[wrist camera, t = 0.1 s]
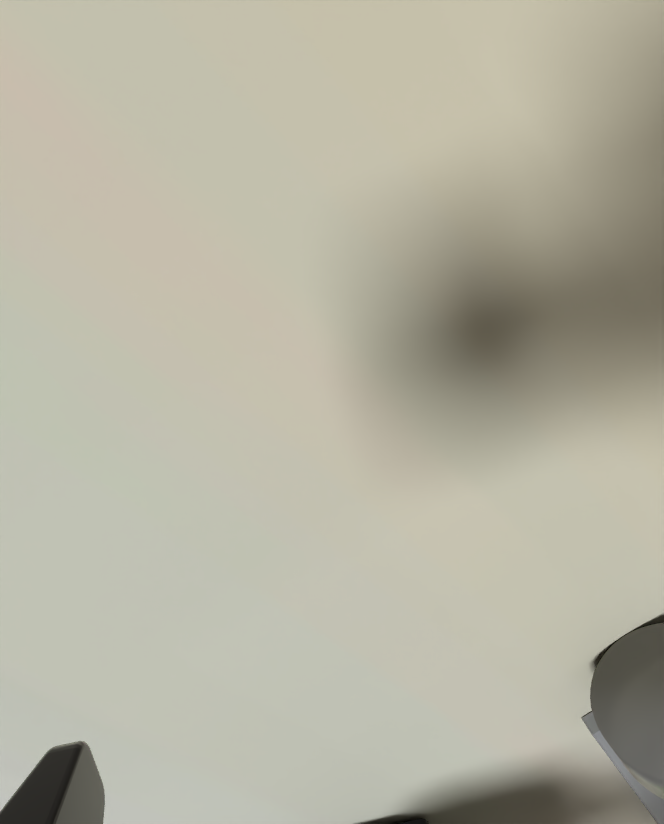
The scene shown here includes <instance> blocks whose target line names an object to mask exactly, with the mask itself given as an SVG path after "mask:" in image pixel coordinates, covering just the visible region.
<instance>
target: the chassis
mask: <svg viewBox="0 0 664 824" xmlns="http://www.w3.org/2000/svg"><path fill="white" fill-rule="evenodd" d="M590 699H591V708H592V712H590V713H589V714H587V715H586V716H584V717H582V720H583V721H584V723H585V724H586V726H587V727H588V729H589V731H590V732H591V734H592V735H593V737H594V738H595V739H596V741H597V742H598V743H599V745H600V746H601V747H602V749H603V750H604V751H605V753H606V754H607V756H608V757H609V758H610V760H611V761H612V762H613V764H614V765H615V766H616V768H617V769H618V770H619V772H620V773H621V774H622V776H623V777H624V779H625V780H626V781H627V783H628V784H629V785H630V787H631V788H632V789H633V791H634V792H635V793H636V795H637V796H638V797H639V799H640V800H641V802H642V803H643V804H644V806H645V807H646V808H647V810H648V811H649V812H650V814H651V815H652V816H653V818H654V819H655V821H656V822H657V823H658V824H664V623H658V624H652V625H649V626H645V627H642V628H639V629H637V630H634V631H632V632H630V633H629V634H627V635H625V636H623V637H622V638H621V639H619V640H618V641H616V642H615V643H614V644H613V645H612V646H611V647H610V648H609V649H608V650H607V651H606V653H605V654H604V655H603V657H602V658H601V660H600V661H599V663H598V665H597V667H596V669H595V672H594V675H593V678H592V683H591V693H590Z"/></svg>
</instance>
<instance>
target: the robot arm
mask: <svg viewBox="0 0 664 824" xmlns="http://www.w3.org/2000/svg"><path fill="white" fill-rule="evenodd" d="M104 805H105V795H104V787H103V783H102V780H101V777H100V775H99V772H98V769H97V766H96V764H95V761H94V758H93V755H92V753H91V750H90V748H89V746H88V744H87V743H86V742H84V741H78V742H74V743H69V744H64V745H59V746H55V747H53V748H51V749H50V750H49V751H48V752H47V753H46V754H45V755H44V756H43V758H42V759H41V760H40V761H39V763H38V764H37V765H36V767H35V768H34V769H33V770H32V772H31V773H30V774H29V775H28V777H27V778H26V779H25V781H24V782H23V783H22V784H21V786H20V787H19V788H18V790H17V791H16V792H15V793H14V795H13V796H12V797H11V799H10V800H9V801H8V802H7V804H6V805H5V806H4V807H3V809H2V810H1V811H0V824H103V817H104ZM400 824H428V821H427V820H425V819H417V820H413V821H409V822H404V823H400Z"/></svg>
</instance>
